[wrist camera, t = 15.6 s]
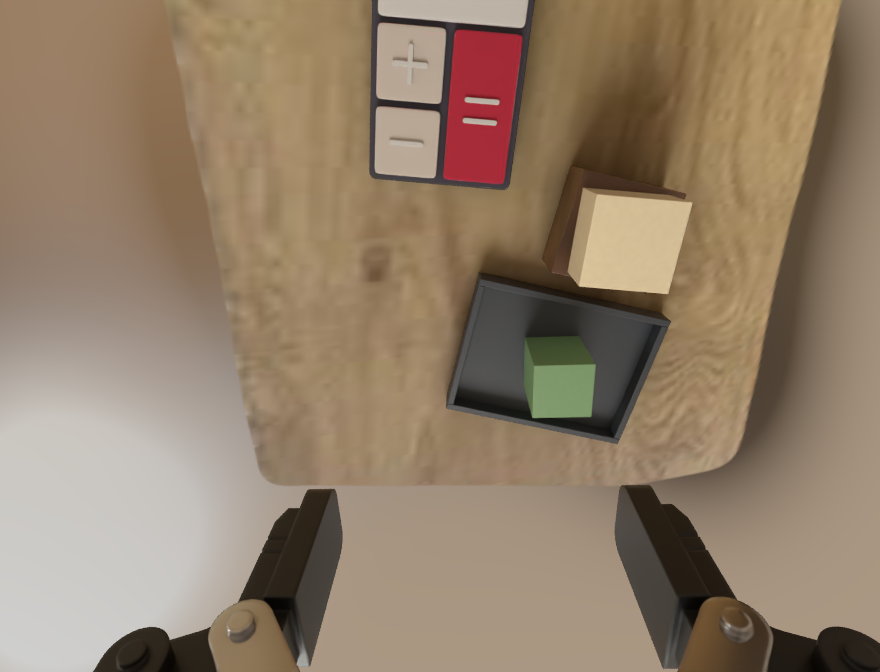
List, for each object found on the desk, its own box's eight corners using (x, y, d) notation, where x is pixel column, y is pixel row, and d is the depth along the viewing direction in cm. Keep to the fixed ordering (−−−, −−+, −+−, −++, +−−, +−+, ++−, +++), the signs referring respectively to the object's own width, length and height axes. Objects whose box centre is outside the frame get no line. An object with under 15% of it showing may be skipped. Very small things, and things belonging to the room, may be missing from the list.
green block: (524, 337, 46) (533, 365, 40) (579, 335, 46) (596, 364, 40) (523, 384, 48) (532, 418, 42) (575, 383, 48) (591, 417, 42)
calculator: (367, 180, 38) (370, -65, 32) (375, 172, 42) (380, -47, 35) (509, 192, 38) (543, -49, 32) (505, 183, 42) (533, -33, 35)
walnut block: (570, 165, 41) (584, 169, 36) (663, 187, 41) (686, 194, 37) (542, 258, 44) (551, 272, 40) (628, 278, 44) (646, 294, 40)
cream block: (582, 187, 37) (596, 194, 33) (669, 194, 37) (693, 202, 33) (567, 271, 39) (578, 286, 36) (648, 278, 40) (668, 294, 36)
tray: (479, 272, 44) (480, 278, 42) (661, 313, 45) (671, 321, 43) (446, 397, 49) (446, 408, 47) (611, 432, 50) (617, 444, 48)
